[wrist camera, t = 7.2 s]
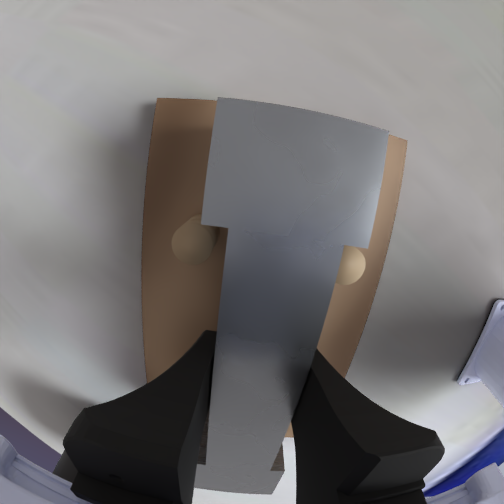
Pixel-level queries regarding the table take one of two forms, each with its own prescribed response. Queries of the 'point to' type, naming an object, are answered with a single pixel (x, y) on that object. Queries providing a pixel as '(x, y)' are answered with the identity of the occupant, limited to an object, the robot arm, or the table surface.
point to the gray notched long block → (277, 270)
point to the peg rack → (215, 240)
